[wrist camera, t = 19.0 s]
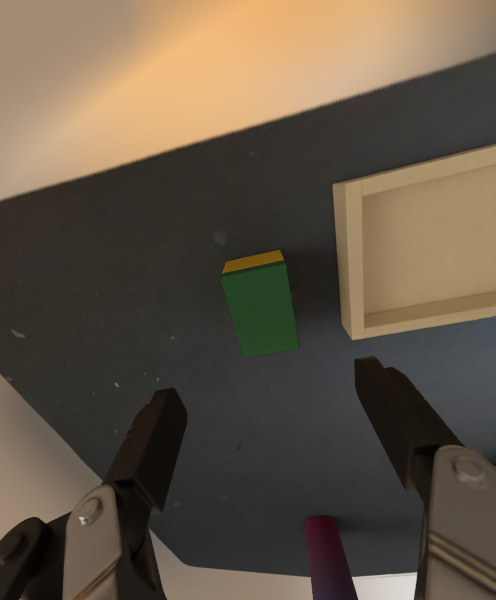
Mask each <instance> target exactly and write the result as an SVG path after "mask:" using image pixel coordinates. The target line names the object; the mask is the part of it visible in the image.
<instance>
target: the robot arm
mask: <svg viewBox="0 0 496 600" xmlns="http://www.w3.org/2000/svg"><path fill="white" fill-rule="evenodd" d="M354 366H355V387H356V392H357V395H358V398H359V400H360V402H361V404H362V406H363V408H364V410H365V412H366V414H367V416H368V418H369V420H370V422H371V424H372V426H373V428H374V430H375V432H376V434H377V436H378V437H379V439H380V441H381V443H382V445H383V447H384V449H385V451H386V453H387V455H388V457H389V459H390V461H391V463H392V465H393V467H394V469H395V471H396V473H397V475H398V477H399V479H400V481H401V483H402V485H403V487H404V489H405V491H416V490H417V491H418V493H419V495H420V497H421V499H422V500H423V502H424V511H423V521H422V531H421V541H420V552H419V562H418V572H417V582H416V589H415V595H414V600H496V464H493V463H491V462H490V461H489V460H487V459H486V458H485V457H483V456H482V455H480V454H479V453H477V452H475V451H473V450H471V449H468V448H466V447H465V446H464V445H463V444H462V443H461V442H460V441H459V440H458V439H457V437H456V436H455V435H454V434H453V432H452V431H451V430H450V429H449V428H448V426H447V425H446V424H445V423H444V421H443V420H442V419H441V418H440V417H439V415H438V414H437V413H436V412H435V411H434V409H433V408H432V407H431V406H430V404H429V403H428V402H427V401H426V400H424V398H423V396H422V395H421V393H420V392H419V391H418V390H416V388H415V386H414V385H413V384H412V383H411V381H410V380H409V379H408V378H407V376H406V375H404V374H403V373H401V372H400V371H398V370H396V369H395V368H393V367H388V368H384V367H383V366H382V364H381V363H380V362H379V360H378V359H377V358H376V357H375V356H371V357H365V358H358V359H355V361H354ZM186 425H187V412H186V409H185V407H184V405H183V403H182V401H181V399H180V397H179V395H178V393H177V391H176V390H175V389H174V388H170V389H164V390H158V391H156V392H155V393H154V395H153V397H152V400H151V402H150V404H147V405H145V406H144V407H143V409H142V410H141V411H140V412H139V413H138V414H137V416H136V418H135V420H134V421H133V423H132V425H131V427H130V428H131V429H130V430H129V431H128V433H127V435H126V437H125V440H124V441H123V443H122V445H121V447H120V449H119V451H118V453H117V455H116V457H115V459H114V461H113V463H112V465H111V467H110V469H109V471H108V473H107V475H106V476H105V478H104V480H103V482H102V484H101V485H100V486H98V487H96V488H94V489H93V490H91V491H90V492H88V493H87V494H86V495H85V496H84V497H83V498H82V499H81V500H80V501H79V503H78V504H77V505H76V506H75V508H74V510H73V511H71V512H69V513H67V514H65V515H63V516H61V517H59V518H57V519H55V520H53V521H51V522H49V523H44V522H43V521H41V520H40V519H39V518H37V517H32V518H28V519H26V520H24V521H22V522H21V523H19V524H18V525H17V526H15V527H14V528H13V529H11V530H10V531H9V532H8V533H7V534H6V535H5V536H4V537H3V538H2V540H0V600H19V599H21V600H167V599H166V597H165V594H164V591H163V588H162V584H161V580H160V575H159V571H158V566H157V562H156V558H155V553H154V549H153V545H152V540H151V536H150V532H149V528H148V526H147V524H148V520H149V517H150V515H151V514H161V513H162V512H163V508H164V504H165V501H166V497H167V494H168V490H169V486H170V483H171V479H172V476H173V472H174V468H175V465H176V461H177V457H178V454H179V450H180V447H181V443H182V439H183V436H184V432H185V429H186Z"/></svg>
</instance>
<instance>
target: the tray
mask: <svg viewBox="0 0 496 600" xmlns="http://www.w3.org/2000/svg"><path fill="white" fill-rule="evenodd" d="M333 199H334V214H335V230H336V245H337V260H338V275H339V290H340V305H341V320H342V325H343V327H344V328H345V330H346V331H347V333H348V334H349V336H350V337H351V339H352V340H357V339H363V338H364V337H365V338H369V337H374V336H380V335H386V334H392V333H398V332H404V331H410V330H416V329H422V328H428V327H434V326H440V325H446V324H452V323H458V322H464V321H470V320H476V319H482V318H488V317H494V316H496V144H492V145H488V146H484V147H480V148H476V149H472V150H468V151H464V152H460V153H456V154H452V155H448V156H444V157H440V158H436V159H432V160H428V161H424V162H420V163H416V164H412V165H408V166H404V167H400V168H396V169H392V170H388V171H384V172H380V173H376V174H372V175H368V176H364V177H360V178H356V179H352V180H348V181H344V182H340V183H336V184H333Z"/></svg>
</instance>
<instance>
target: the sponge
mask: <svg viewBox="0 0 496 600" xmlns="http://www.w3.org/2000/svg"><path fill="white" fill-rule="evenodd" d="M220 279H221V282H222V286H223V289H224V293H225V296H226V299H227V303H228V306H229V309H230V313H231V316H232V319H233V323H234V326H235V329H236V333H237V336H238V339H239V343H240V346H241V349H242V353H243V356H244V358H245V357H251V356H257V355H263V354H269V353H275V352H281V351H287V350H293V349H299V348H300V346H299V340H298V334H297V328H296V322H295V316H294V310H293V304H292V297H291V291H290V285H289V279H288V273H287V267H286V263H285V261H284V259H283V256H282V254H281V252H280V250H276V251H272V252H267V253H263V254H258V255H254V256H249V257H245V258H240V259H236V260H231V261H227V262H226V265H225V267H224V270H223V273H222V275H221V277H220Z"/></svg>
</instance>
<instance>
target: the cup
mask: <svg viewBox="0 0 496 600" xmlns="http://www.w3.org/2000/svg"><path fill="white" fill-rule="evenodd" d="M305 528H306V537H307V546H308V556H309V565H310V574H311V584H312V593H313V600H358V598H357V594H356V590H355V587H354V584H353V580H352V577H351V573H350V570H349V567H348V563H347V560H346V556H345V553H344V550H343V546H342V543H341V539H340V536H339V532H338V529H337V526H336V522H335V520H334V519H332V518H330V517H326V516H317V517H313V518H310V519H308V520H307V521H306V523H305Z"/></svg>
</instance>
